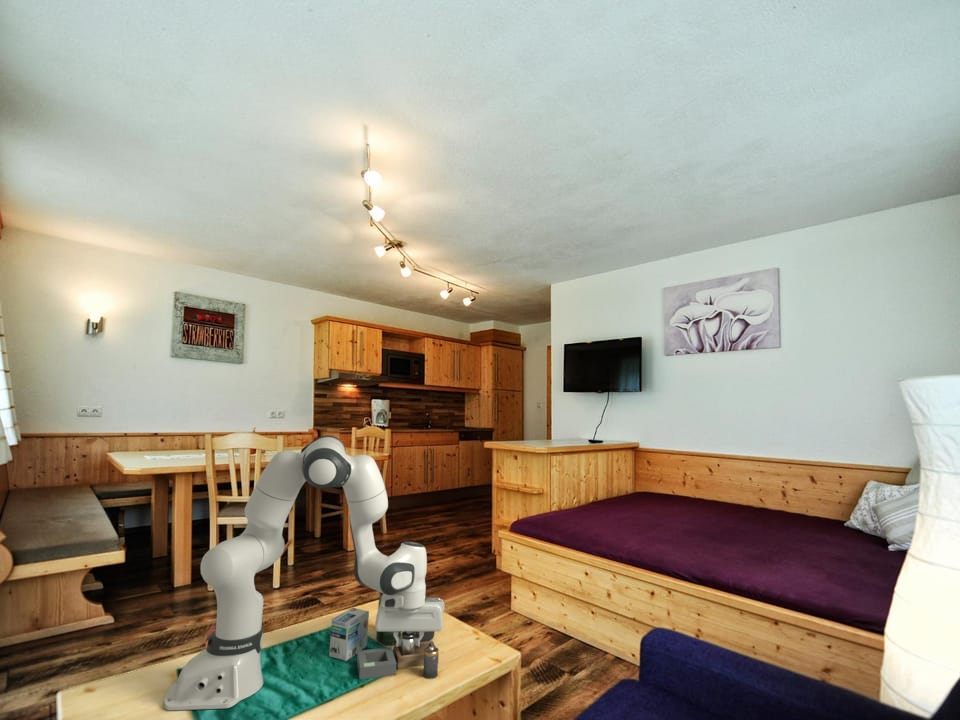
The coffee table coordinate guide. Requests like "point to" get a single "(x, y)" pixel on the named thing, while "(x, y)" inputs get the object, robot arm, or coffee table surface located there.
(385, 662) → the cradle
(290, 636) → the coffee table surface
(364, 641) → the light bulb box
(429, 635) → the smart speaker
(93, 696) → the coffee table surface
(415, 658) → the trough
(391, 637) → the coffee jar
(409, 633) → the steel cell
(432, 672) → the copper cell
